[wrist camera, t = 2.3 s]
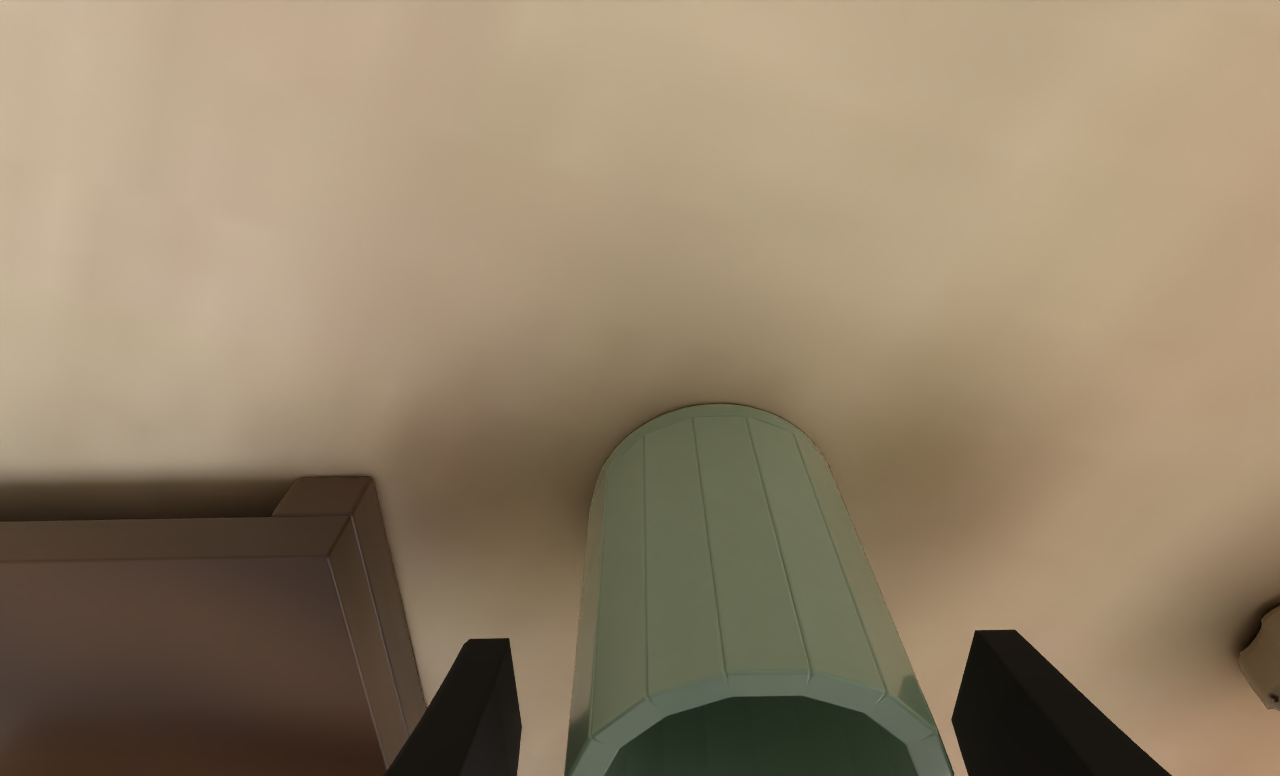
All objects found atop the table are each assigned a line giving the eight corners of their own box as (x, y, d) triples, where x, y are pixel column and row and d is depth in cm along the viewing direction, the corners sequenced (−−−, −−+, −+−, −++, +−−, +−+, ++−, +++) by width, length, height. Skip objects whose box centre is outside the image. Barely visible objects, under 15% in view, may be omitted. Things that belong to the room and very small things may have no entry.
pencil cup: (822, 596, 17) (919, 910, 11) (597, 600, 17) (577, 915, 11) (847, 399, 14) (989, 668, 8) (585, 404, 14) (550, 675, 9)
